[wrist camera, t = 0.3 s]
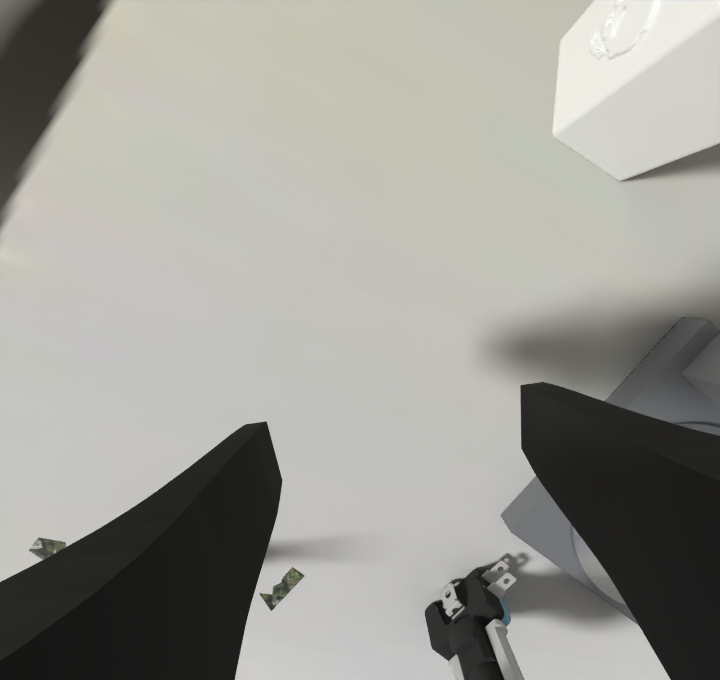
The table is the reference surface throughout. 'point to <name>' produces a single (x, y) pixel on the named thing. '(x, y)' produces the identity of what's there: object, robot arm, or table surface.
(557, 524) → the postal scale
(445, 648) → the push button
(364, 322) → the table surface
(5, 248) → the table surface
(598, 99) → the jar
